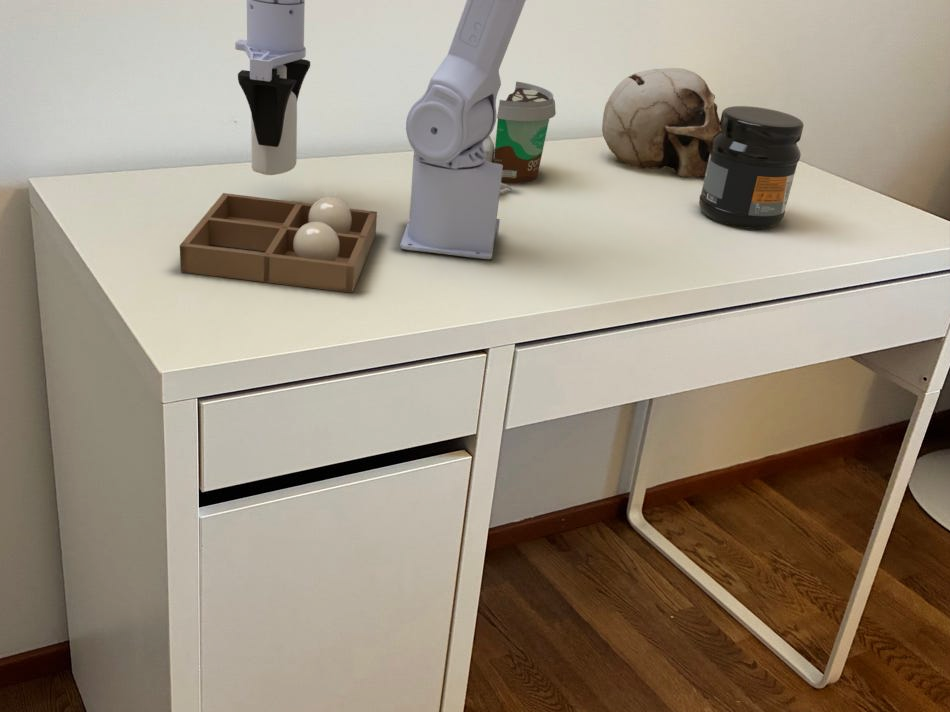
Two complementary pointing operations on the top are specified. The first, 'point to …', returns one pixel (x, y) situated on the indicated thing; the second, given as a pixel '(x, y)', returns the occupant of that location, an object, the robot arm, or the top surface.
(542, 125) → the food container
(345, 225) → the egg near left
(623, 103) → the coin bank
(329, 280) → the wooden compartment tray
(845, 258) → the top surface
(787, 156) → the supplement container
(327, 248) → the egg near right
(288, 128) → the eye dropper bottle
